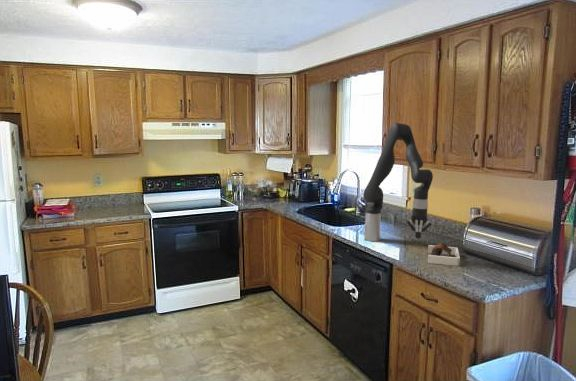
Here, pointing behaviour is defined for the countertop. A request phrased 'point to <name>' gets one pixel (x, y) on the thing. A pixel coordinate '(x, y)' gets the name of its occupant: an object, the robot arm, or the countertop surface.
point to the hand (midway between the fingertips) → (417, 238)
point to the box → (442, 259)
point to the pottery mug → (440, 250)
